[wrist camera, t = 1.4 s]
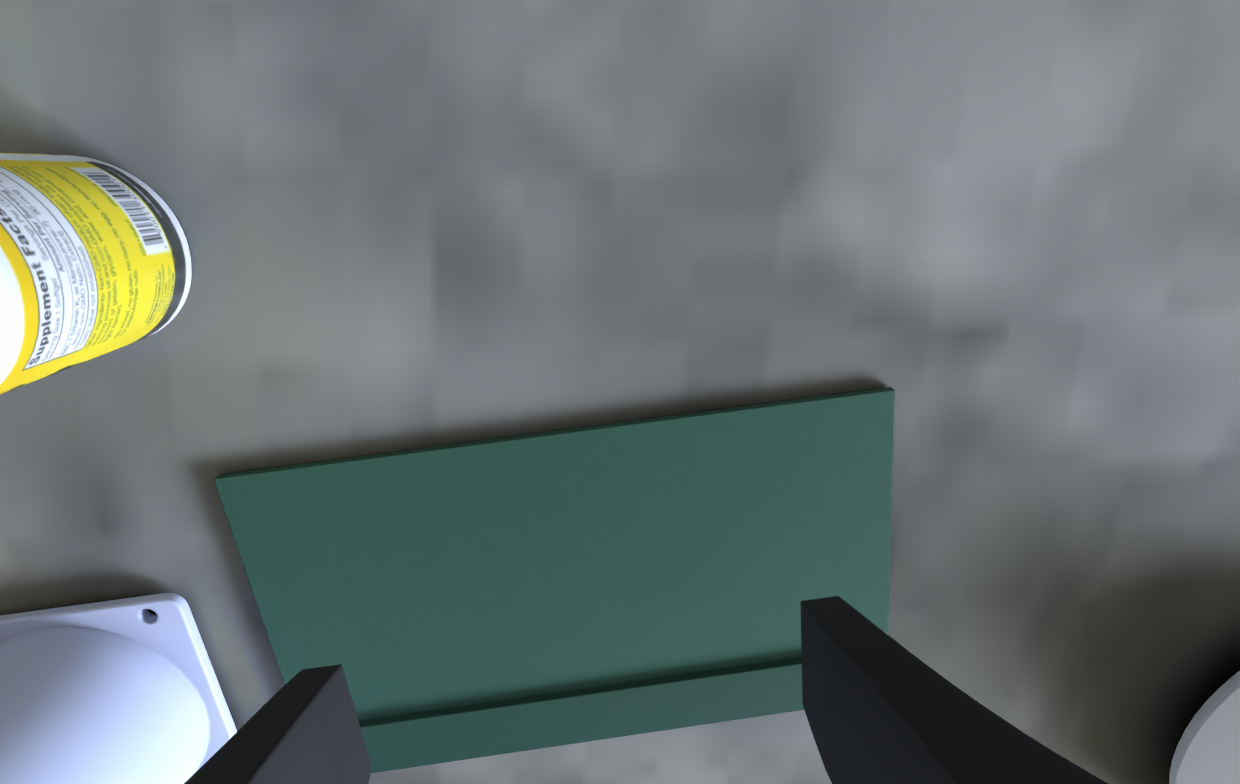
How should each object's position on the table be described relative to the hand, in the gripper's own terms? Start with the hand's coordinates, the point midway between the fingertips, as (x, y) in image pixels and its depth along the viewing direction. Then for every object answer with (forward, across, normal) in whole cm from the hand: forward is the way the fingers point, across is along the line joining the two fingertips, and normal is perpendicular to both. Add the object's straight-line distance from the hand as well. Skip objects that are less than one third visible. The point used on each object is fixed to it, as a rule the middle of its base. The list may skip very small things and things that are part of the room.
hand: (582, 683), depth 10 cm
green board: (+10, 0, +5) cm, 11 cm away
